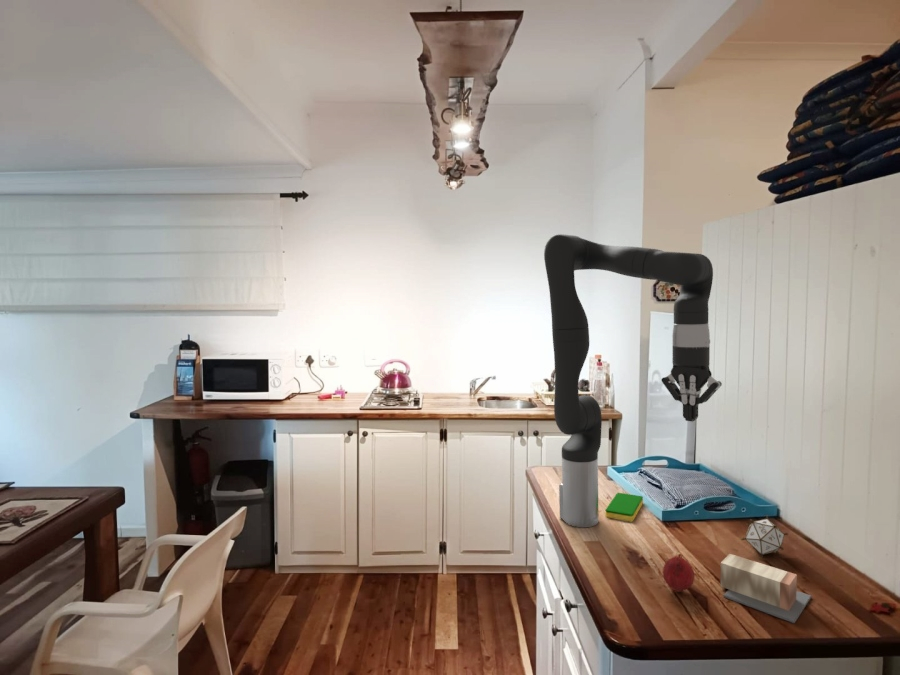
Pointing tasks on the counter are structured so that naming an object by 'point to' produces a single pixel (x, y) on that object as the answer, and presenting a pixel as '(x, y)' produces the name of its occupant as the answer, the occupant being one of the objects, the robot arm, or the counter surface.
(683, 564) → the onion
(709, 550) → the counter surface
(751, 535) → the game die
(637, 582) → the counter surface
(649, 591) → the counter surface
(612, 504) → the dish sponge
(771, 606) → the mat
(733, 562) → the beech block
